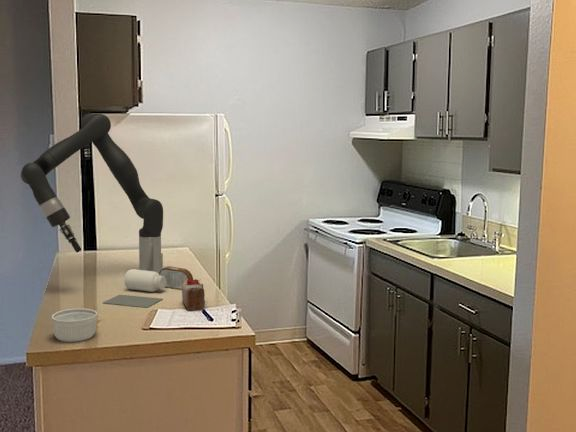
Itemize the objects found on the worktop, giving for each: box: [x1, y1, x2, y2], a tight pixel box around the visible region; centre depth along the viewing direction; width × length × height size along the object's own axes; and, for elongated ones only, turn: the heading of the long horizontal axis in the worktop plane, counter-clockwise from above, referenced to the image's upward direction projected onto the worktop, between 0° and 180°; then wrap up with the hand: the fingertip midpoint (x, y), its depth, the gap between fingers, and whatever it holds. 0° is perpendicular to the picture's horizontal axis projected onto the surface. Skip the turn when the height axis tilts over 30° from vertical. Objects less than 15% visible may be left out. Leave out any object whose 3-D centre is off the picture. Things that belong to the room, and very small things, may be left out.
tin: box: [159, 266, 194, 291], centre depth 251 cm, size 15×3×8 cm, turn 65°
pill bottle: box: [124, 268, 166, 293], centre depth 247 cm, size 8×8×15 cm
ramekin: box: [51, 307, 98, 343], centre depth 192 cm, size 13×13×7 cm
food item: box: [181, 278, 206, 312], centre depth 227 cm, size 14×8×10 cm, turn 18°
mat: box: [102, 294, 163, 309], centre depth 232 cm, size 18×12×1 cm, turn 75°
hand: (79, 251), depth 239 cm, fingers closed
